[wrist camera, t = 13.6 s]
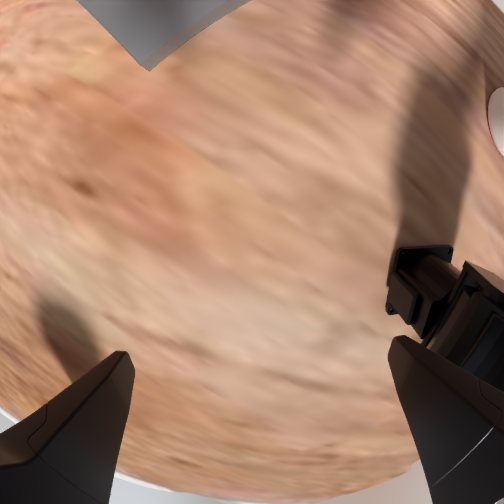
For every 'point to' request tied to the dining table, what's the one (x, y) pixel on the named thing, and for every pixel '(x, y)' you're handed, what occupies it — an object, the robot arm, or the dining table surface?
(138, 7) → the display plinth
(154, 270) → the dining table surface
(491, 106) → the milk bottle
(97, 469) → the robot arm
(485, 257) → the dining table surface
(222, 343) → the dining table surface
